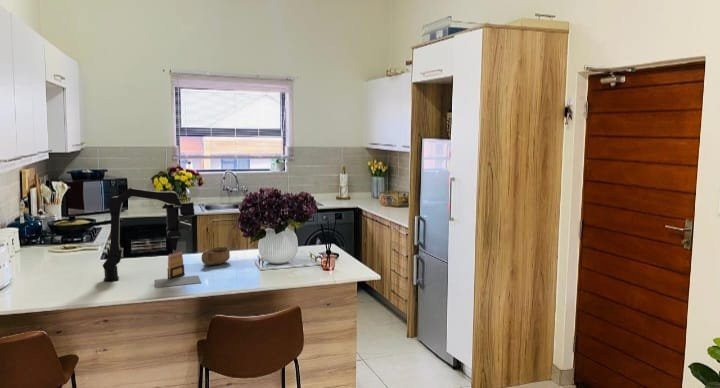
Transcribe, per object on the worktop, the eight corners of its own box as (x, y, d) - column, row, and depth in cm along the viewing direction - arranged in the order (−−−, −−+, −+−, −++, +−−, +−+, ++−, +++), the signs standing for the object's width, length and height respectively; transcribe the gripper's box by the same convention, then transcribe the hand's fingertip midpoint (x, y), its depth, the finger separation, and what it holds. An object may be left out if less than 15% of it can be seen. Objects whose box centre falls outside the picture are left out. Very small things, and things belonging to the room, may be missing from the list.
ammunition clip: (170, 279, 261) (169, 254, 261) (167, 279, 262) (166, 254, 261) (184, 274, 272) (183, 250, 271) (181, 274, 272) (180, 250, 271)
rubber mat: (154, 280, 261) (154, 279, 261) (198, 276, 269) (198, 275, 269) (155, 287, 248) (155, 287, 248) (201, 283, 256) (201, 282, 256)
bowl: (223, 266, 283) (217, 247, 282) (199, 272, 286) (193, 254, 285) (236, 258, 300) (231, 240, 300) (213, 264, 303) (208, 247, 302)
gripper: (191, 218, 263) (192, 250, 265) (188, 213, 280) (190, 243, 282) (166, 220, 259) (168, 252, 261) (165, 215, 277) (167, 245, 278)
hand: (174, 248), depth 271 cm, fingers open, 9 cm apart
